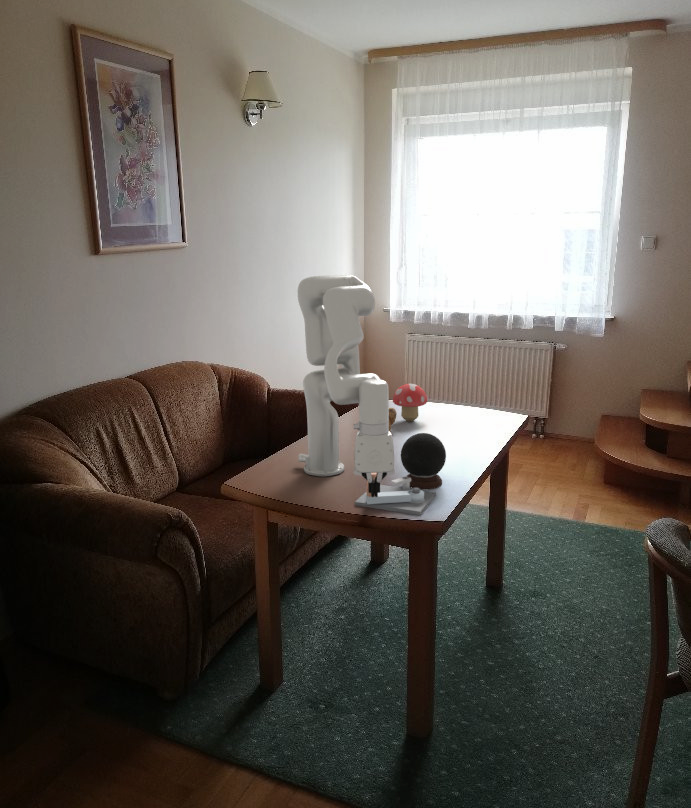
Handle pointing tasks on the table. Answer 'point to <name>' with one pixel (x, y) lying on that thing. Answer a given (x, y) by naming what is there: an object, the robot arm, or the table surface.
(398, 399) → the decorative mushroom
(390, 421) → the lion figurine
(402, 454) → the black stone ball
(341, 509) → the table surface
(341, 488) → the table surface
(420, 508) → the pintle board
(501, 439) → the table surface
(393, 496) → the white lever handle
